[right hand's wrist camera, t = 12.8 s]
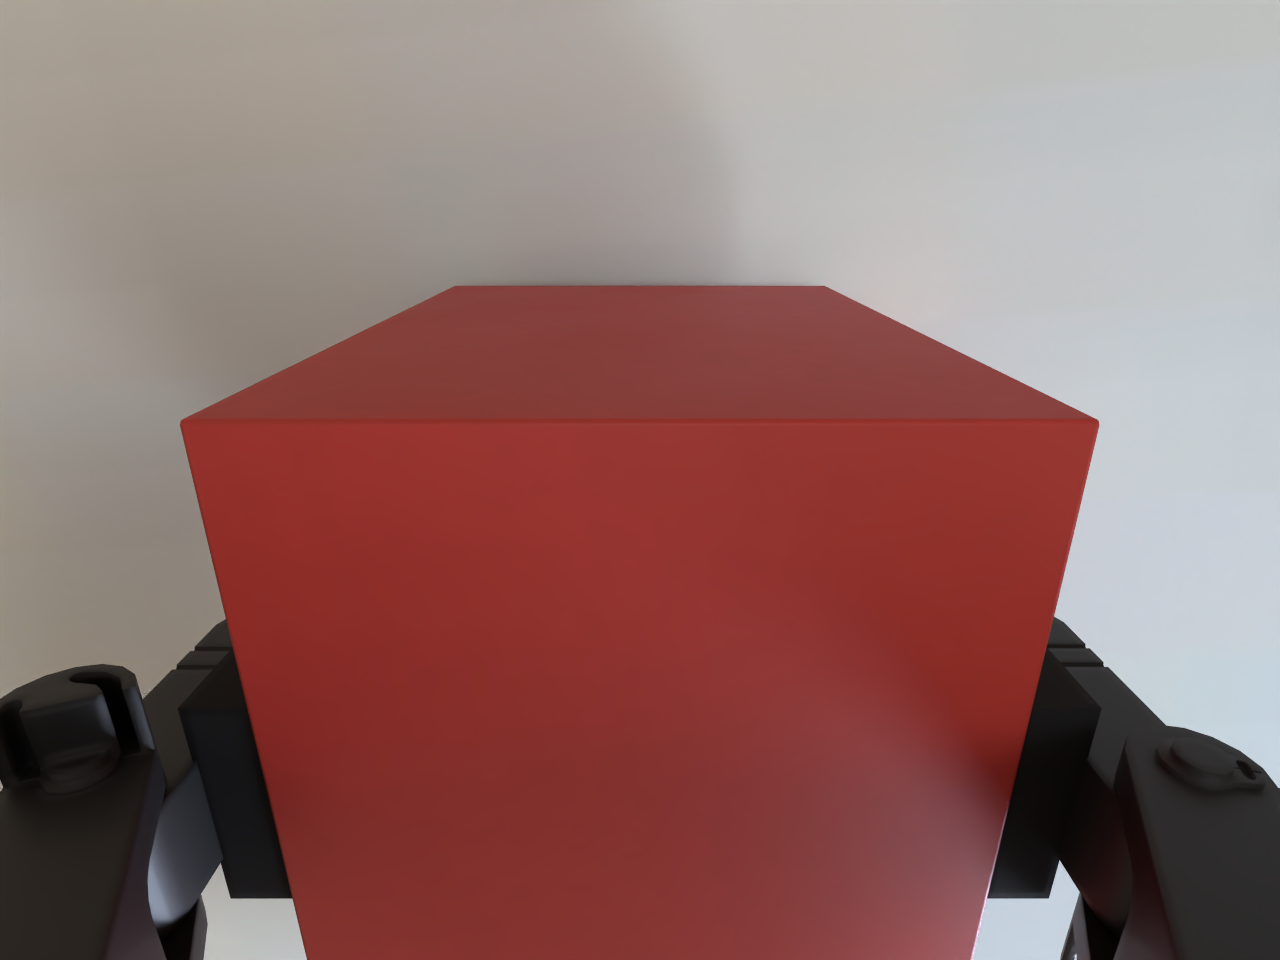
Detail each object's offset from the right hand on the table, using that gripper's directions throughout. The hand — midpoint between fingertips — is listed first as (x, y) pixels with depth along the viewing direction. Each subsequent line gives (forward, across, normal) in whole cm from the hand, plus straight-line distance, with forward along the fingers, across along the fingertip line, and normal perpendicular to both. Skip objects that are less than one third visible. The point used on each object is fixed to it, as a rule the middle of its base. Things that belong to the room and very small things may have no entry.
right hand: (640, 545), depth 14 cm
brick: (+4, 0, 0) cm, 4 cm away
